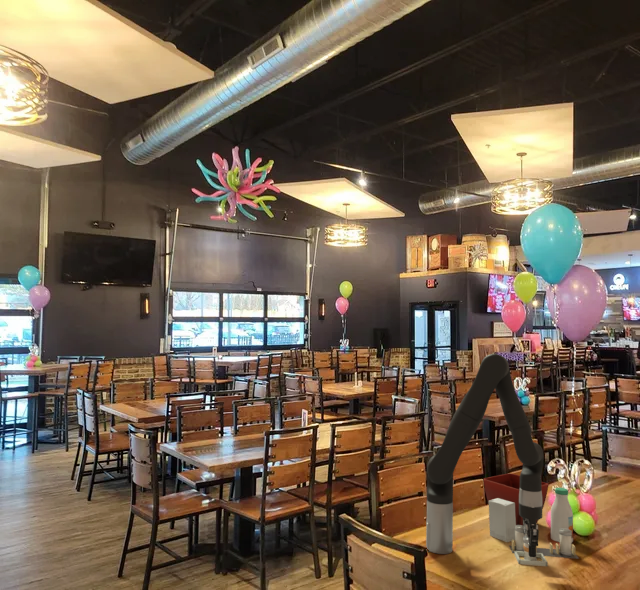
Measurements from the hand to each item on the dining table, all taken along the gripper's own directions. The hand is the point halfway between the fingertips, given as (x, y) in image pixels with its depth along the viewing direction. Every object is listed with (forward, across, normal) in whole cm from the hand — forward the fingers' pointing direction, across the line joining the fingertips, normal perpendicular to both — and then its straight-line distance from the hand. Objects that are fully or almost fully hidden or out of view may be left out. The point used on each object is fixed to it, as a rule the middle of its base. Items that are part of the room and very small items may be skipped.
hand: (530, 553), depth 189 cm
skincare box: (+4, -20, -6) cm, 21 cm away
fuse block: (+4, -8, +6) cm, 11 cm away
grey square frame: (+4, 0, 0) cm, 4 cm away
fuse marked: (+3, 0, 0) cm, 3 cm away
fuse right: (+2, -8, +14) cm, 16 cm away
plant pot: (+4, -43, +3) cm, 43 cm away
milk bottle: (+4, -23, +16) cm, 28 cm away
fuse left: (+2, -8, -2) cm, 9 cm away
